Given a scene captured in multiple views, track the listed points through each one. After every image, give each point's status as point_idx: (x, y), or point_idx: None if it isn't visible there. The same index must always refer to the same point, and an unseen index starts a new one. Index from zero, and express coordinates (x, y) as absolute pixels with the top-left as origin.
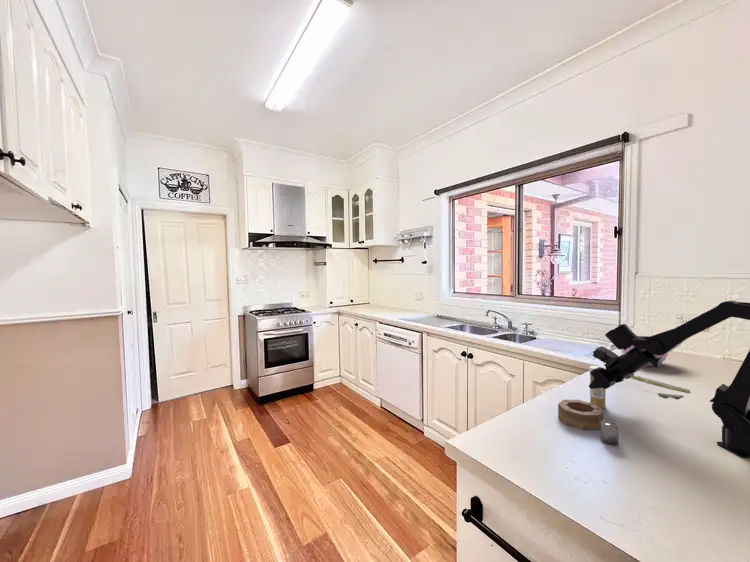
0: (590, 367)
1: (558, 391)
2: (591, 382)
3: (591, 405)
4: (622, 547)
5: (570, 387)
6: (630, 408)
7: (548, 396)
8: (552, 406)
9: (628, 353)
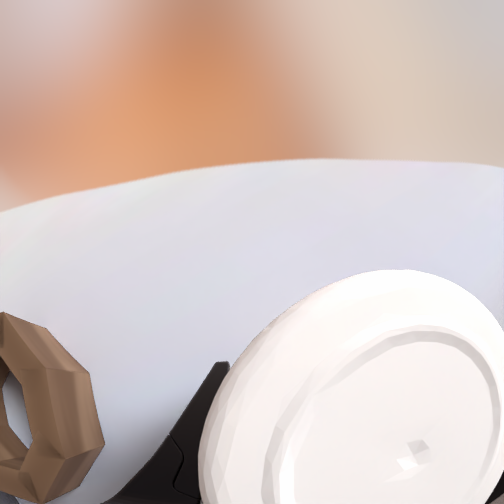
0: (261, 348)
1: (287, 172)
2: (188, 405)
3: (37, 452)
4: None
5: (384, 179)
6: None
7: (180, 183)
8: (78, 261)
9: None
